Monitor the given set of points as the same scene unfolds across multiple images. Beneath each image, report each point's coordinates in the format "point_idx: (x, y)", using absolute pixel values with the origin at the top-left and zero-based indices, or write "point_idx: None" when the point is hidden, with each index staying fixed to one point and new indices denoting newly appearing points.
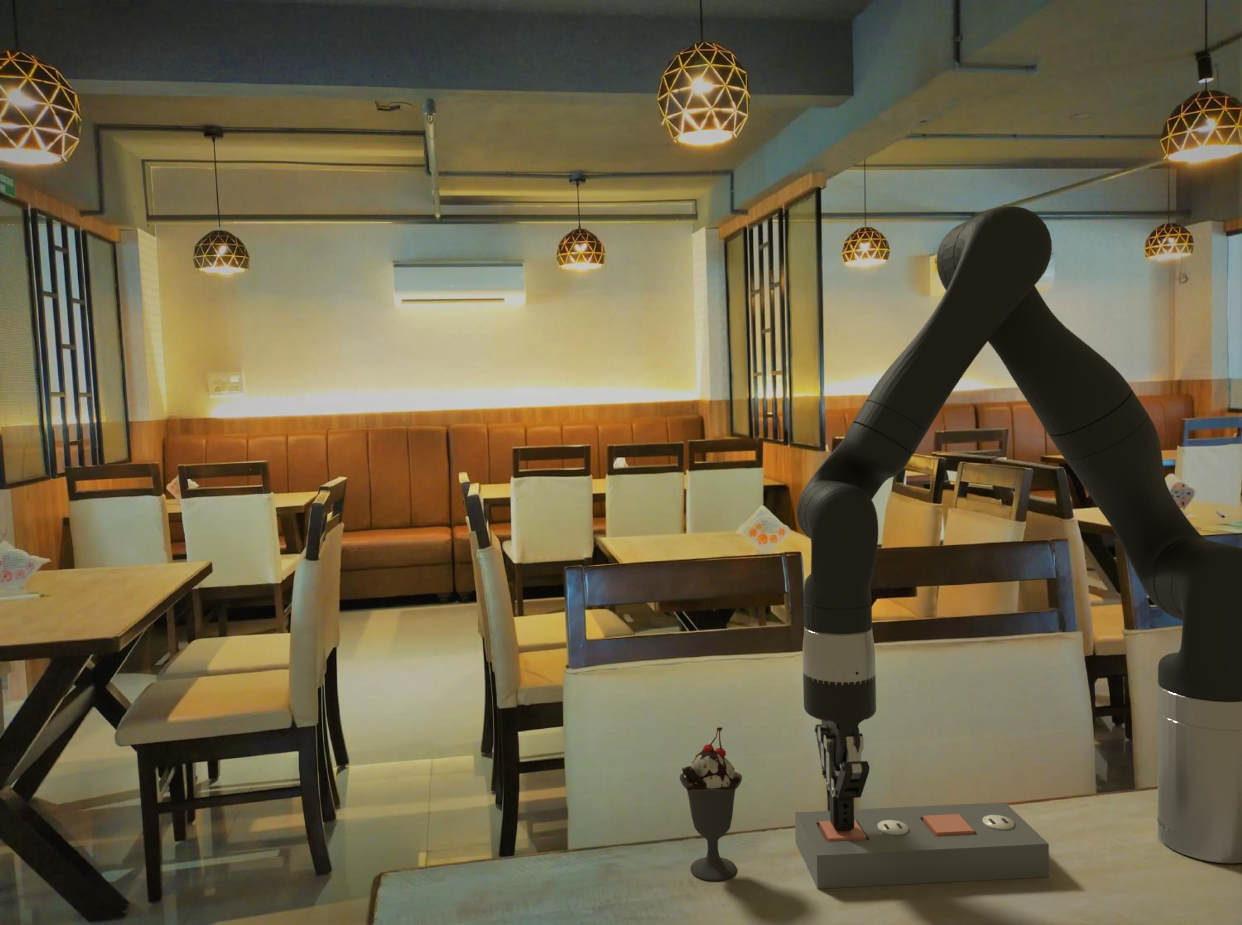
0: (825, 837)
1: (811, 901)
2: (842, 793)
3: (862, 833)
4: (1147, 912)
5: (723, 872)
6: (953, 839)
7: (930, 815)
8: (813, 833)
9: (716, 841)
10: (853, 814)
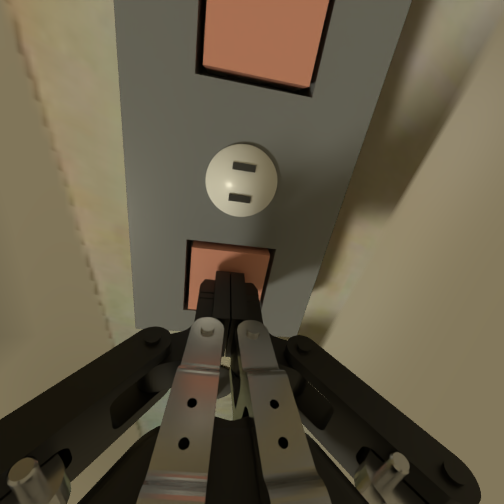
0: None
1: (308, 315)
2: (316, 391)
3: (255, 257)
4: None
5: (227, 380)
6: (343, 50)
7: (205, 34)
8: None
9: None
10: (245, 290)
